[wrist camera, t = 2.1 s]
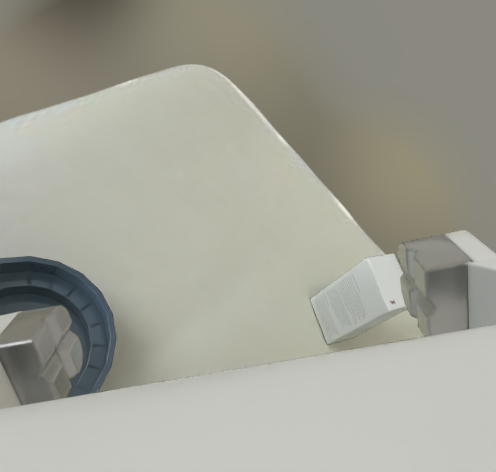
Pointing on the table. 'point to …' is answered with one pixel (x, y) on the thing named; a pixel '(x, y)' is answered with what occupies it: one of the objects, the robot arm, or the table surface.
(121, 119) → the table surface
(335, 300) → the cosmetic box
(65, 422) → the robot arm
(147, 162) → the table surface
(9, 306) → the bowl
